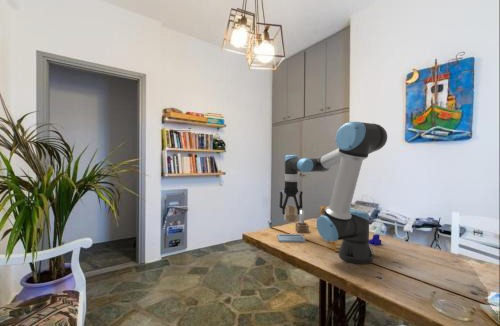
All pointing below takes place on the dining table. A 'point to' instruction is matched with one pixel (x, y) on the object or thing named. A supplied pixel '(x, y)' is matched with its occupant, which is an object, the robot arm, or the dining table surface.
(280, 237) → the tray
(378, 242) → the cable clip
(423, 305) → the dining table surface
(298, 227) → the brown hollow block
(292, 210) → the block
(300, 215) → the silver metal rod
